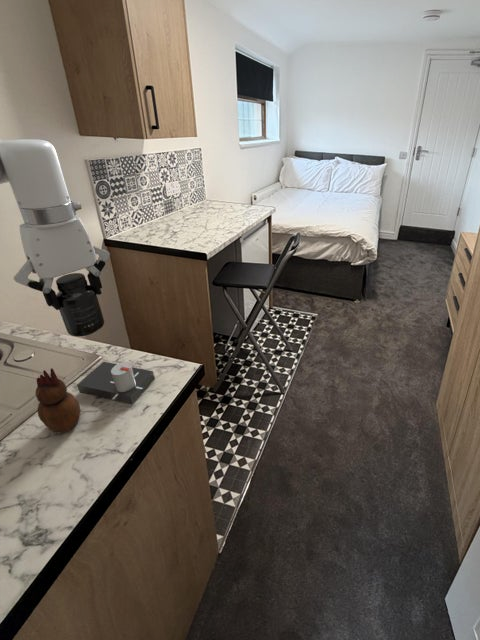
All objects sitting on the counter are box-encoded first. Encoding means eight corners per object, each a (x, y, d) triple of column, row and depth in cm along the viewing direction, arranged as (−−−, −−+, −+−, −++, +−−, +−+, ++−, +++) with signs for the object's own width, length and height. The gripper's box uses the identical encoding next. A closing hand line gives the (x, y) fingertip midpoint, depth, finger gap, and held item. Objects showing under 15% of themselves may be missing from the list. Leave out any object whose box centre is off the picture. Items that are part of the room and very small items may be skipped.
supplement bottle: (63, 328, 69) (45, 277, 64) (98, 315, 73) (84, 267, 68) (73, 342, 64) (54, 289, 59) (110, 328, 69) (95, 277, 64)
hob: (73, 398, 73) (70, 389, 72) (105, 369, 81) (103, 360, 80) (131, 411, 70) (129, 402, 69) (159, 379, 78) (157, 371, 77)
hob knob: (112, 390, 72) (106, 371, 70) (125, 377, 75) (119, 359, 73) (127, 393, 71) (121, 375, 69) (139, 380, 74) (135, 362, 72)
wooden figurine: (90, 418, 68) (69, 363, 62) (63, 442, 63) (37, 384, 57) (67, 409, 70) (44, 354, 64) (40, 430, 65) (12, 374, 59)
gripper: (91, 201, 66) (112, 279, 74) (-21, 220, 54) (18, 311, 62) (108, 208, 62) (128, 289, 70) (-8, 230, 50) (32, 326, 58)
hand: (77, 299), depth 66 cm, fingers closed on supplement bottle, 6 cm apart
